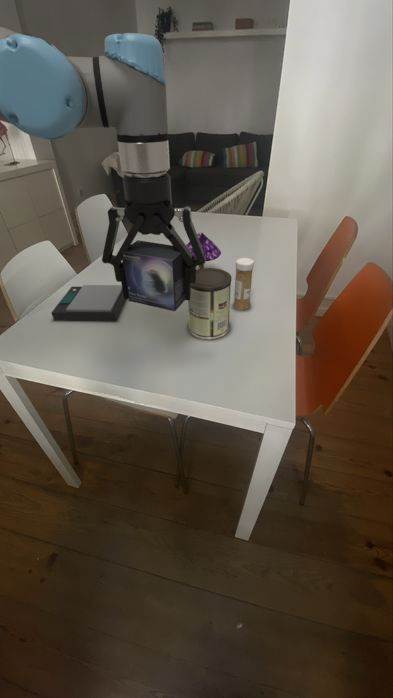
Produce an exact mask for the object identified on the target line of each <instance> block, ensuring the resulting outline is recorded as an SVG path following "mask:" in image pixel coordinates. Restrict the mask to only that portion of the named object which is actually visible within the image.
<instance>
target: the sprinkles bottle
mask: <svg viewBox="0 0 393 698" xmlns="http://www.w3.org/2000/svg"><path fill="white" fill-rule="evenodd" d="M254 266H255V262H254V260H253V259H251V258H249V257H240V258H238V259H236V261H235V278H234V294H233V295H234V299H233V308H235V309H236V310H238V311H245V310H248V309H249V308H250V307H251V305H250V300H251V292H252V278H253V269H254Z"/></svg>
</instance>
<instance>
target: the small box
mask: <svg viewBox="0 0 393 698" xmlns="http://www.w3.org/2000/svg"><path fill="white" fill-rule="evenodd" d="M121 254H122V261H121V262H123V268H124V274H125V280H126V287H127V293H128V299H127V300H128V302H131V303H136V304H140V305H144V306H149V307H153V308H159V309H163V310H166V311H172V312H176V311H177V310H178V309H179V308H180V307H181V306H182V305H183V303H184V302H185V301H187V300H186V290H185V266H186V262H185V261H184V259H183V258H182V257H181V253H180V252H178V251H177V250H176V249H175V247H174V246H173V245H172V244H166V243H158V242H152V241H146V240H145V241H144V240H135V241H134V242H132V243H131V245H130V247H129V248H128V250H127V251H122V252H121Z"/></svg>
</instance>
